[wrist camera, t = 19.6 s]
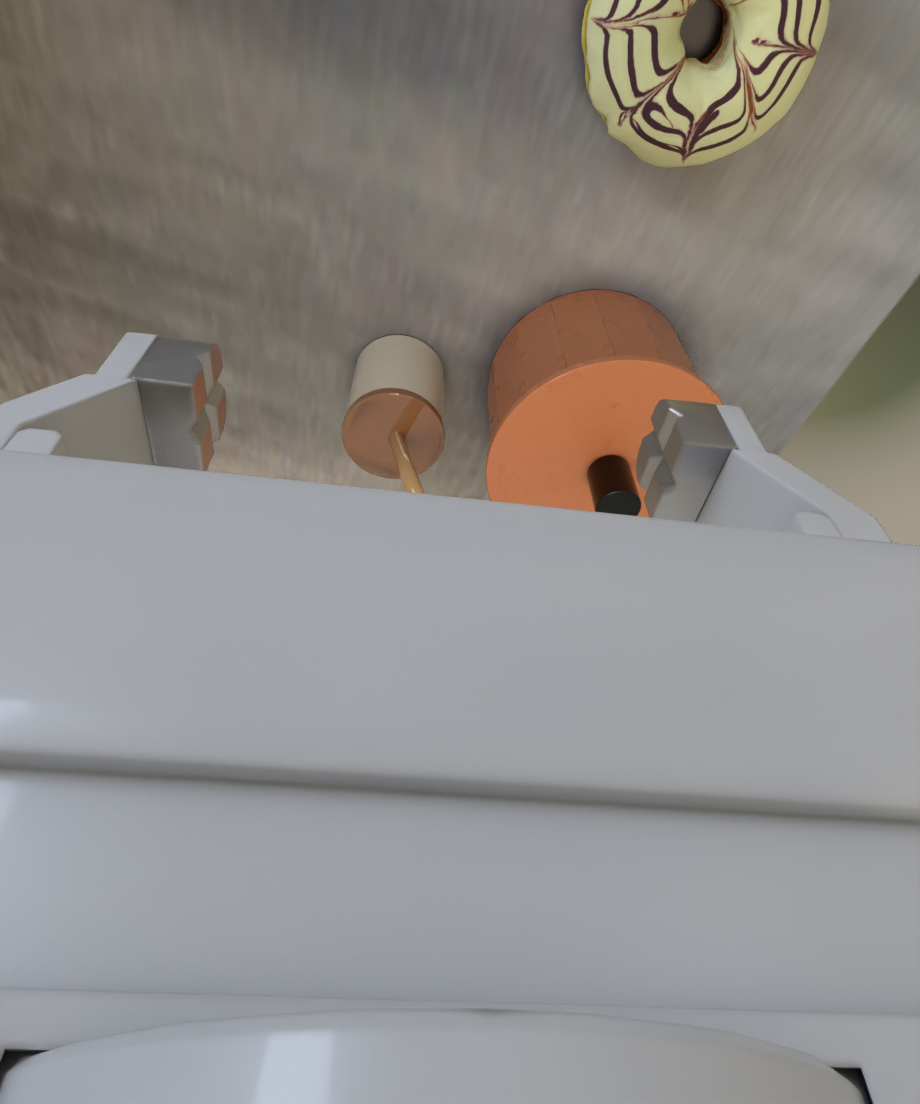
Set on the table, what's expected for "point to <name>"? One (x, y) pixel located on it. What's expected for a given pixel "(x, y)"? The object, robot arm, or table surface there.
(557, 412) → the pot lid
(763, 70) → the decorated donut
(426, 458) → the crock
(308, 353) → the table surface
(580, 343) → the pot
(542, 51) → the table surface
